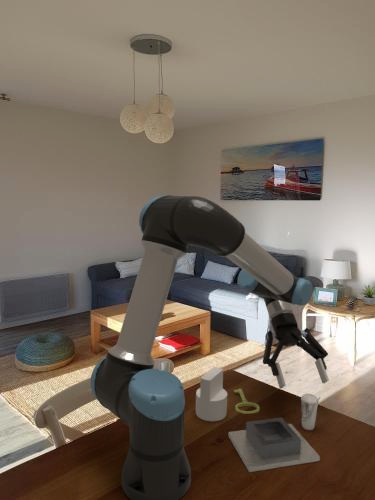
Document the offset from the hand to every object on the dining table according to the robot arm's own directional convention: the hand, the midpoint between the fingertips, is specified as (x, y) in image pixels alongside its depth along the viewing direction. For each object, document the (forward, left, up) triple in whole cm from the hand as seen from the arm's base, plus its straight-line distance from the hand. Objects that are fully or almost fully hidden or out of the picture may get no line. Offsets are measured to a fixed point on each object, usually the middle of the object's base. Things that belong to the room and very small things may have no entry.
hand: (304, 384), depth 113 cm
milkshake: (-1, -5, -10) cm, 11 cm away
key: (-14, +10, -10) cm, 20 cm away
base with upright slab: (-25, +8, -10) cm, 28 cm away
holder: (-15, -11, -10) cm, 21 cm away
